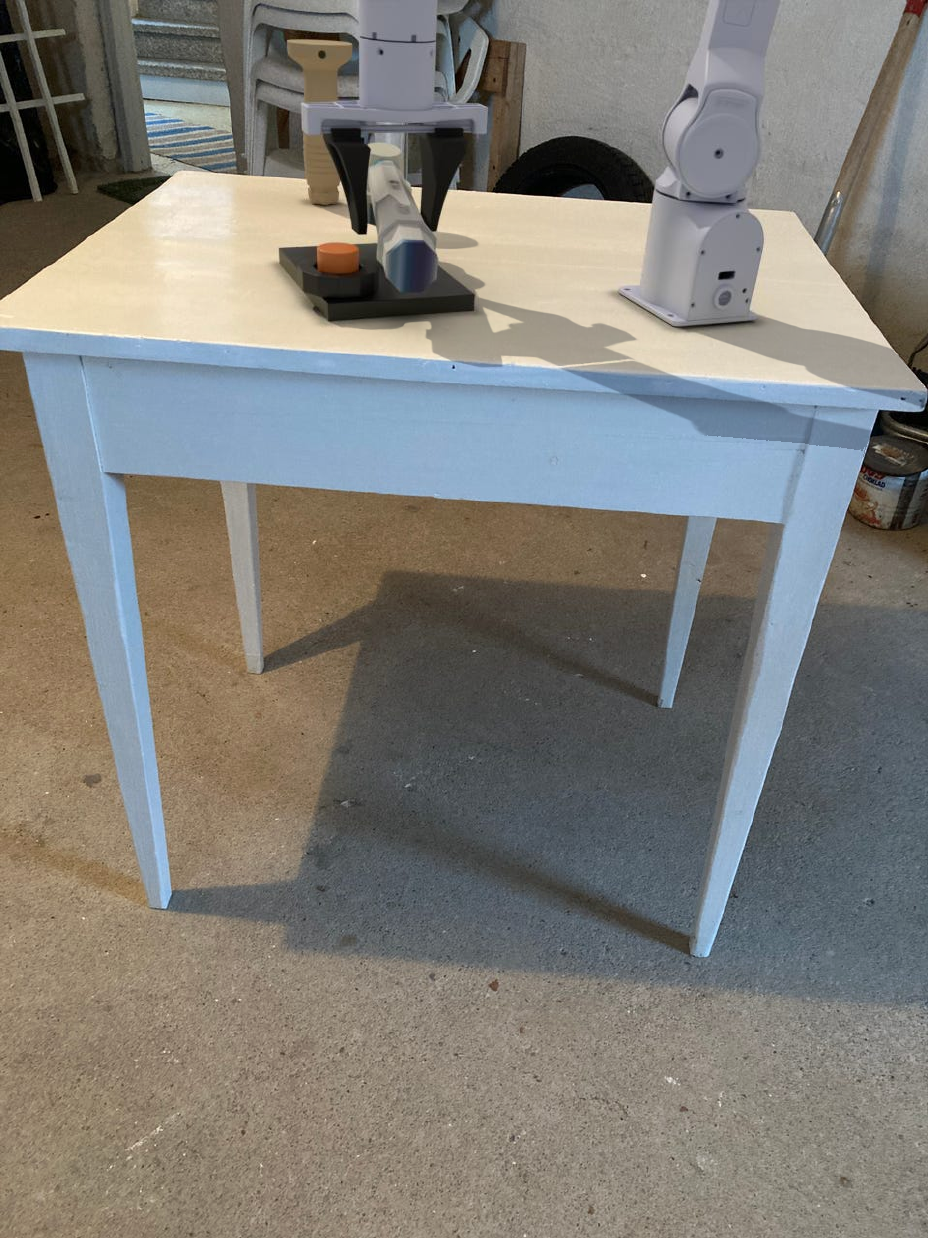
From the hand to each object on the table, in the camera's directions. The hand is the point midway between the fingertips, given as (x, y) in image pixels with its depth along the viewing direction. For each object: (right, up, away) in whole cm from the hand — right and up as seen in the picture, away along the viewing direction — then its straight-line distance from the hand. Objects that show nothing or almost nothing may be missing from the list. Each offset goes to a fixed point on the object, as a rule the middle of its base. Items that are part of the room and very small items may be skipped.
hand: (394, 230), depth 81 cm
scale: (-2, -4, +2) cm, 5 cm away
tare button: (-4, -5, -4) cm, 7 cm away
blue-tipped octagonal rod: (0, -1, +1) cm, 2 cm away
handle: (-10, +13, +26) cm, 30 cm away
